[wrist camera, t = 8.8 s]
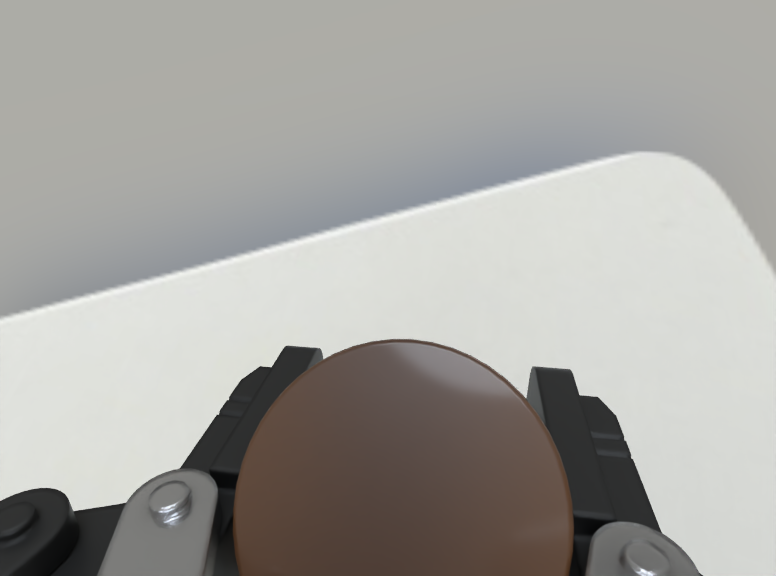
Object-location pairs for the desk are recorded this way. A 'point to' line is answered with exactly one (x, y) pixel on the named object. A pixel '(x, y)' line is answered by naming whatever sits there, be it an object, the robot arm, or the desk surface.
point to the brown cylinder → (402, 472)
